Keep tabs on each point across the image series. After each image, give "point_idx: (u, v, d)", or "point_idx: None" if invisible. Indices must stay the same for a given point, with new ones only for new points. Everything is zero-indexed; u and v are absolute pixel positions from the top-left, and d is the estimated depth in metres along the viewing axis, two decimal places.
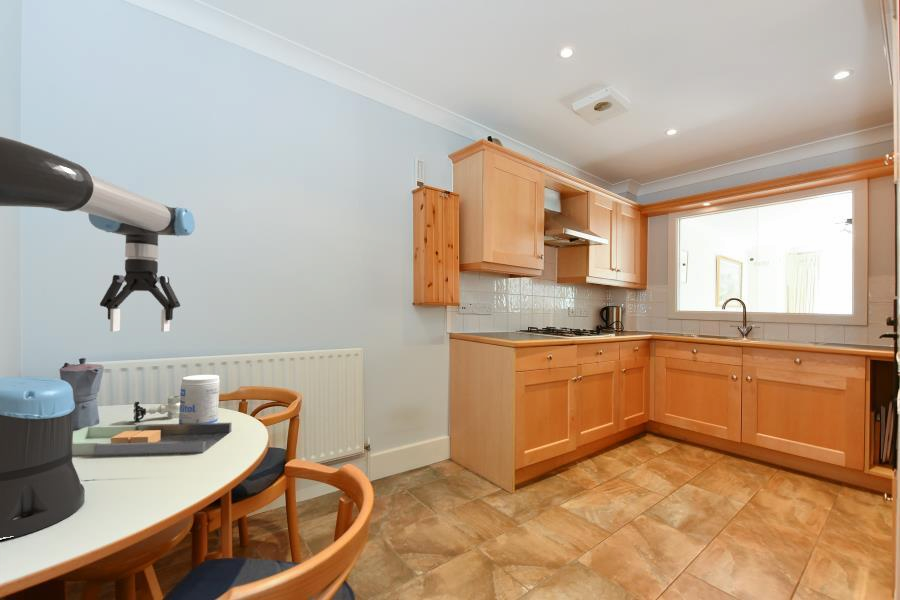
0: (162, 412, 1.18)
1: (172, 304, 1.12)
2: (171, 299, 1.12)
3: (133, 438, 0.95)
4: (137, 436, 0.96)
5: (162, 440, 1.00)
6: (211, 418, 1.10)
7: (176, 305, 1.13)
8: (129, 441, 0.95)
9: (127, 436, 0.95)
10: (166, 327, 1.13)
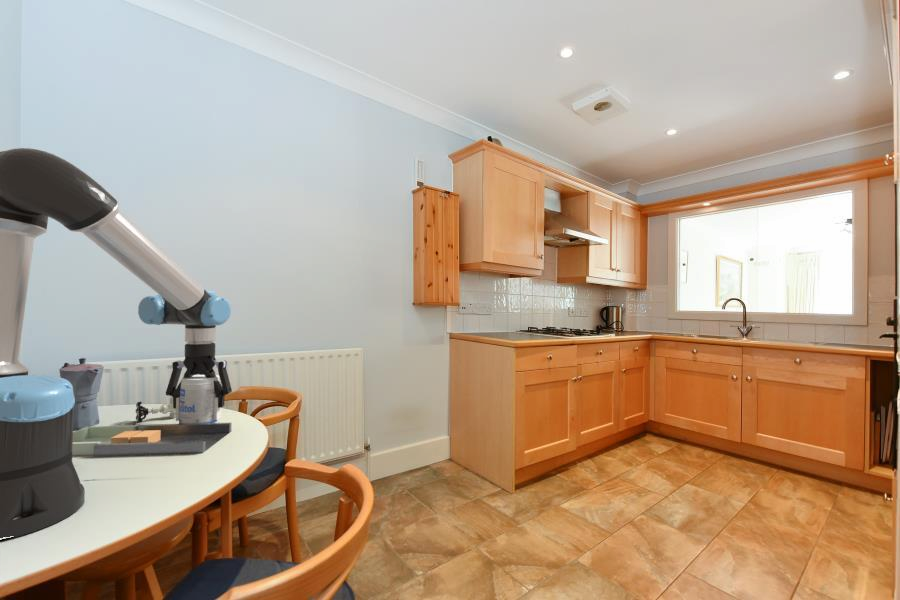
0: (164, 412, 1.18)
1: (225, 391, 1.11)
2: (225, 386, 1.11)
3: (133, 438, 0.95)
4: (137, 436, 0.96)
5: (162, 440, 1.00)
6: (211, 418, 1.10)
7: (228, 392, 1.11)
8: (129, 441, 0.95)
9: (127, 436, 0.95)
10: (218, 414, 1.12)
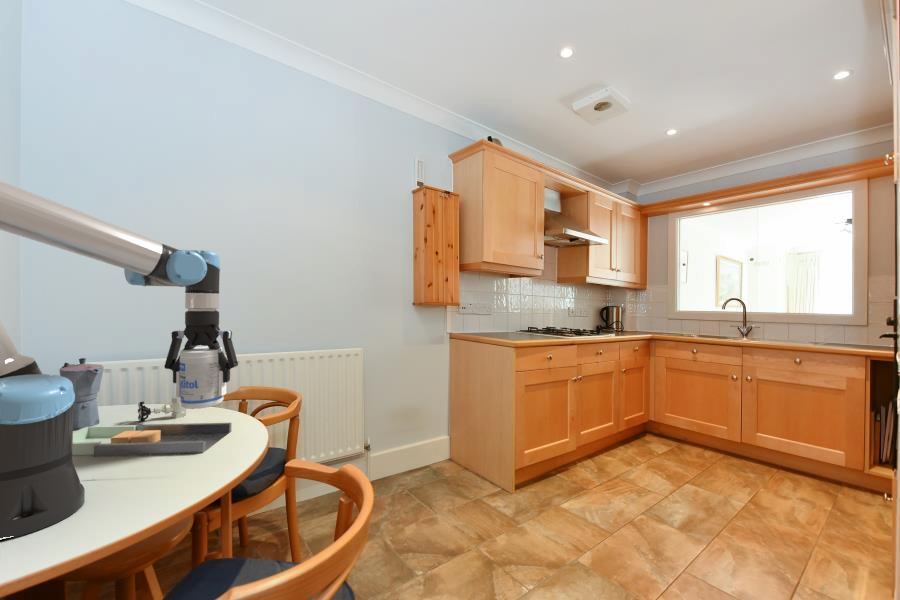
0: (167, 412, 1.18)
1: (230, 364, 0.99)
2: (230, 359, 0.99)
3: (133, 438, 0.95)
4: (137, 436, 0.96)
5: (162, 440, 1.00)
6: (216, 394, 0.99)
7: (234, 366, 1.00)
8: (129, 441, 0.95)
9: (127, 436, 0.95)
10: (223, 390, 1.00)
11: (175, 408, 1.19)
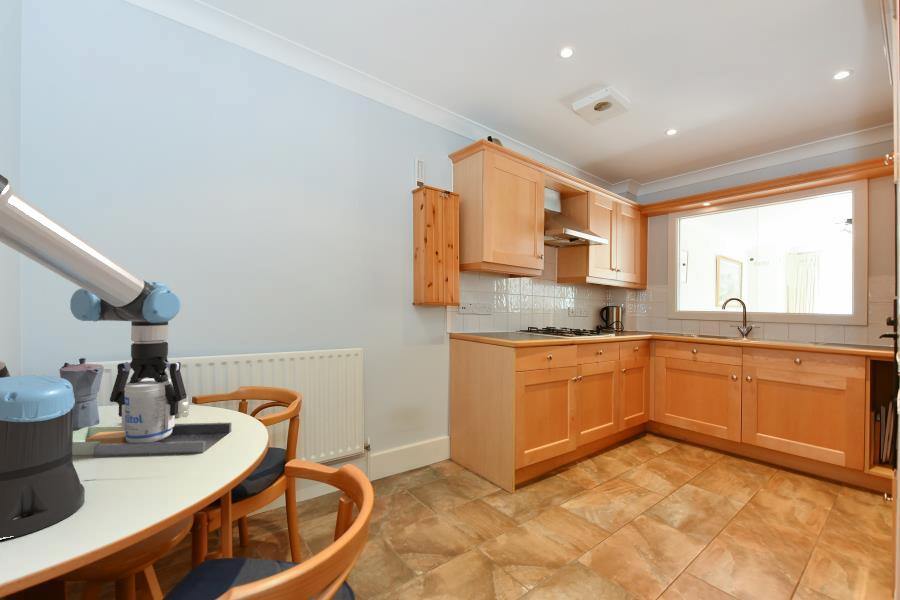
0: None
1: (178, 397, 0.98)
2: (178, 391, 0.98)
3: (107, 439, 0.94)
4: (111, 437, 0.95)
5: (162, 440, 1.00)
6: (162, 428, 0.97)
7: (182, 398, 0.98)
8: None
9: (102, 437, 0.95)
10: (171, 423, 0.98)
11: (178, 408, 1.20)
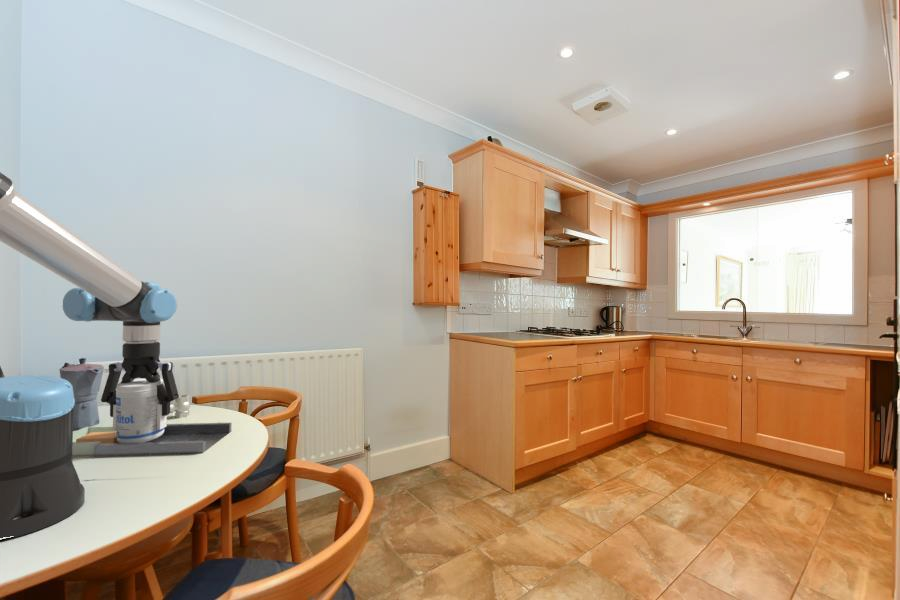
0: (170, 411, 1.18)
1: (170, 397, 0.97)
2: (170, 392, 0.97)
3: (98, 439, 0.94)
4: (102, 437, 0.95)
5: (162, 440, 1.00)
6: (154, 428, 0.97)
7: (174, 399, 0.98)
8: None
9: (93, 437, 0.94)
10: (163, 423, 0.98)
11: (179, 408, 1.20)
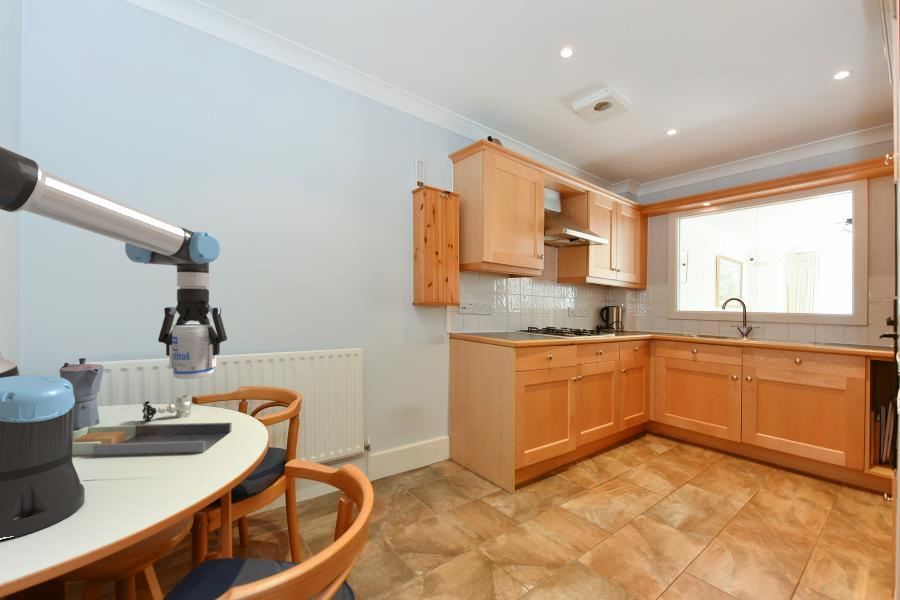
0: (172, 411, 1.19)
1: (220, 338, 1.07)
2: (220, 333, 1.07)
3: (96, 440, 0.94)
4: (100, 438, 0.94)
5: (162, 440, 1.00)
6: (207, 366, 1.07)
7: (223, 340, 1.08)
8: None
9: (91, 438, 0.94)
10: (213, 362, 1.08)
11: (180, 407, 1.20)
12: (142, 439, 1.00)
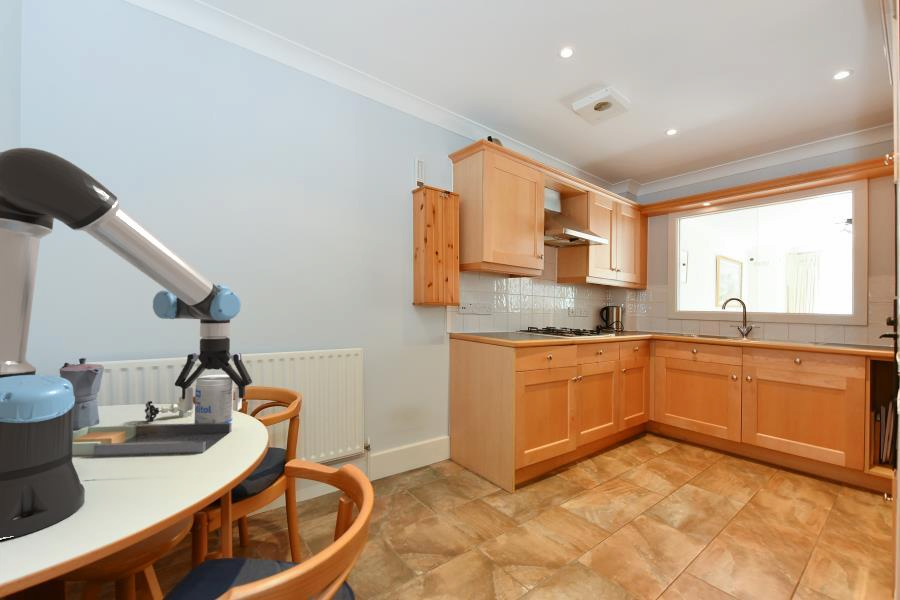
0: (174, 411, 1.19)
1: (246, 382, 1.11)
2: (244, 377, 1.11)
3: (96, 440, 0.94)
4: (100, 438, 0.94)
5: (162, 440, 1.00)
6: (226, 418, 1.10)
7: (249, 383, 1.12)
8: None
9: (91, 438, 0.94)
10: (239, 405, 1.12)
11: (182, 407, 1.20)
12: (142, 439, 1.00)
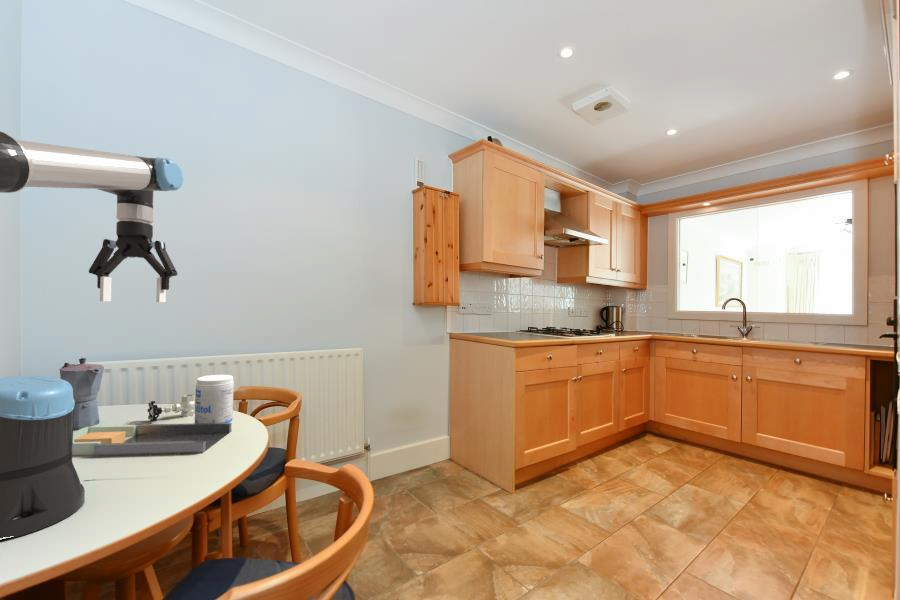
0: (177, 411, 1.19)
1: (168, 272, 1.02)
2: (167, 266, 1.02)
3: (96, 440, 0.94)
4: (100, 438, 0.94)
5: (162, 440, 1.00)
6: (226, 418, 1.10)
7: (173, 273, 1.02)
8: None
9: (91, 438, 0.94)
10: (162, 297, 1.02)
11: (185, 407, 1.21)
12: (142, 439, 1.00)
